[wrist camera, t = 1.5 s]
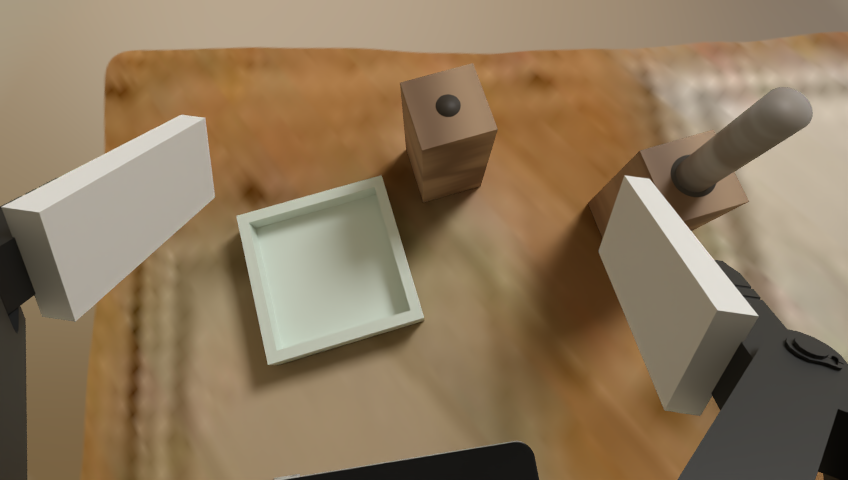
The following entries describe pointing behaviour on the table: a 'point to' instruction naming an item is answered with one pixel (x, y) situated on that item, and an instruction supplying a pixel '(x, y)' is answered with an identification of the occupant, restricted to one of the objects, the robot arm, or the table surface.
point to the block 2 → (710, 161)
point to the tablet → (446, 466)
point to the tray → (327, 270)
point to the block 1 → (447, 131)
